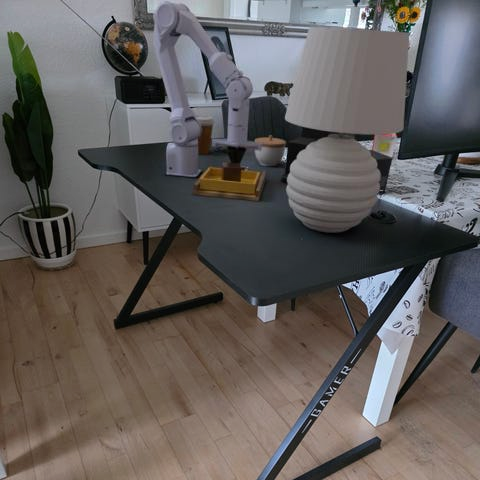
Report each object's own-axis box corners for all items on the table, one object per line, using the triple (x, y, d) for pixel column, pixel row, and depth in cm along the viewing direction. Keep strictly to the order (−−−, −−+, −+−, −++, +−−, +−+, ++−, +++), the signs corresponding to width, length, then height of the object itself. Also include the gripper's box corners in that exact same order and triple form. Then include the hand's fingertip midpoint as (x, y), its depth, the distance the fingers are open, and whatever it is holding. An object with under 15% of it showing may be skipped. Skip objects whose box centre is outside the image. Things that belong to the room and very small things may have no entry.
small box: (347, 184, 140) (353, 149, 135) (364, 183, 143) (371, 149, 137) (368, 195, 132) (375, 158, 127) (385, 193, 135) (394, 157, 129)
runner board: (193, 194, 123) (193, 184, 122) (209, 174, 141) (209, 165, 140) (258, 201, 122) (259, 190, 120) (265, 179, 140) (266, 170, 138)
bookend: (312, 188, 135) (324, 102, 122) (280, 181, 139) (289, 97, 127) (339, 173, 152) (352, 96, 139) (309, 167, 157) (320, 92, 144)
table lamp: (322, 201, 124) (350, 30, 103) (400, 231, 108) (451, 36, 87) (253, 217, 111) (267, 24, 89) (329, 254, 94) (370, 28, 73)
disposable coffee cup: (191, 148, 170) (190, 114, 164) (215, 150, 170) (216, 116, 163) (185, 154, 163) (184, 118, 156) (210, 156, 162) (211, 120, 155)
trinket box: (281, 169, 152) (284, 140, 147) (250, 166, 153) (252, 136, 148) (285, 162, 161) (288, 134, 156) (256, 159, 162) (258, 131, 157)
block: (222, 185, 126) (223, 167, 123) (221, 180, 130) (221, 162, 127) (240, 185, 126) (241, 167, 124) (238, 180, 131) (239, 163, 128)
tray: (199, 188, 124) (199, 178, 122) (212, 172, 139) (212, 163, 137) (254, 194, 122) (255, 184, 121) (261, 177, 138) (261, 167, 136)
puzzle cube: (371, 156, 177) (376, 134, 173) (371, 152, 184) (375, 131, 180) (392, 158, 176) (397, 137, 172) (391, 154, 183) (395, 133, 178)
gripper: (210, 125, 125) (209, 174, 133) (261, 129, 124) (257, 179, 131) (215, 121, 131) (213, 168, 139) (264, 125, 130) (260, 173, 137)
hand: (235, 173), depth 135 cm, fingers closed, pressing on tray
